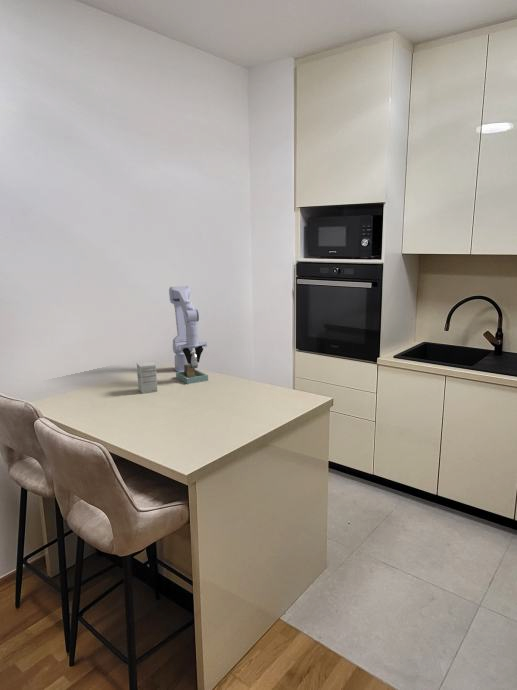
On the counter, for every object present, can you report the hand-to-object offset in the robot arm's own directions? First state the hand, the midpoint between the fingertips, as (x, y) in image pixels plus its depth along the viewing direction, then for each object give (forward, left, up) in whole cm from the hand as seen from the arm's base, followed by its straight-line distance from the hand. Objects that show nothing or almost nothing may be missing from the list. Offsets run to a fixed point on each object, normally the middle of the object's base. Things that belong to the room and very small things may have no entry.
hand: (193, 362), depth 229 cm
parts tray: (-3, 0, -9) cm, 9 cm away
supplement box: (+4, -24, -9) cm, 26 cm away
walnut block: (-6, 0, -8) cm, 10 cm away
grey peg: (0, 0, -2) cm, 2 cm away
